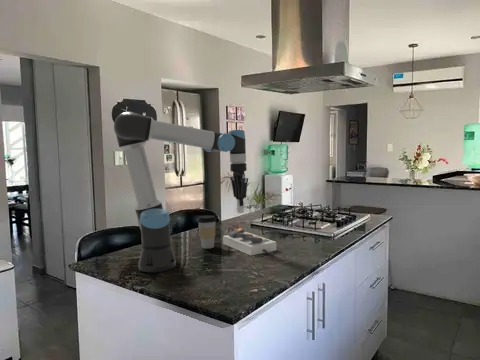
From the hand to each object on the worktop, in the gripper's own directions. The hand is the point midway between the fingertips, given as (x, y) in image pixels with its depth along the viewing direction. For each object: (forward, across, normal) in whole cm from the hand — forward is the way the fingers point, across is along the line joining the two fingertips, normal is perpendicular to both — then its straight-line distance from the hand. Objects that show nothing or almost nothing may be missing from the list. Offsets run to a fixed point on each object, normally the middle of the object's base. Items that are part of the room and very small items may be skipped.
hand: (240, 212), depth 185 cm
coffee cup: (+17, +12, +12) cm, 24 cm away
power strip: (+17, -4, -4) cm, 18 cm away
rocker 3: (+12, -8, -2) cm, 14 cm away
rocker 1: (+12, +8, -2) cm, 14 cm away
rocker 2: (+12, 0, -2) cm, 12 cm away
